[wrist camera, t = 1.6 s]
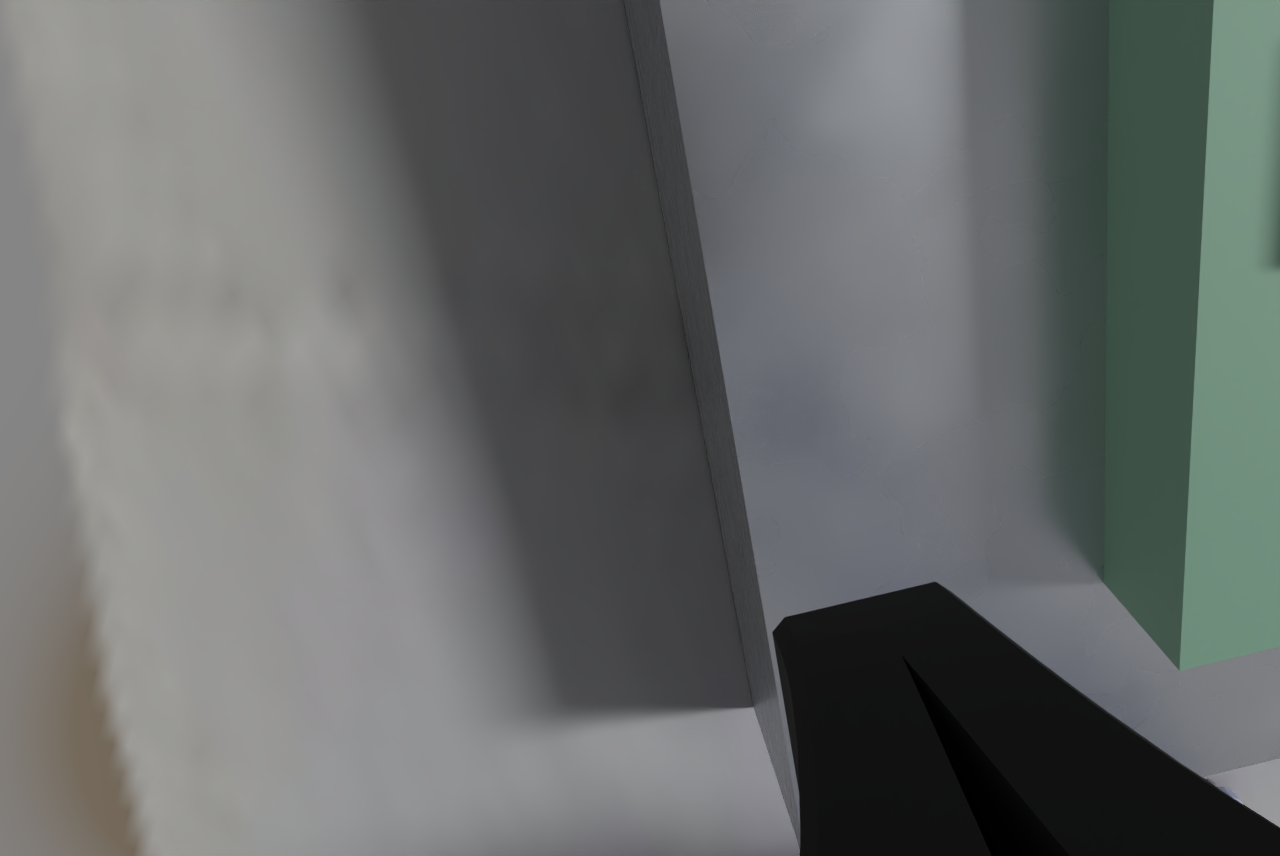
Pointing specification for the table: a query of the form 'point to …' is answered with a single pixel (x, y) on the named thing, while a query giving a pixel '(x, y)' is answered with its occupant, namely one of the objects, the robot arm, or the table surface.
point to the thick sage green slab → (1194, 324)
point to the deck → (912, 331)
